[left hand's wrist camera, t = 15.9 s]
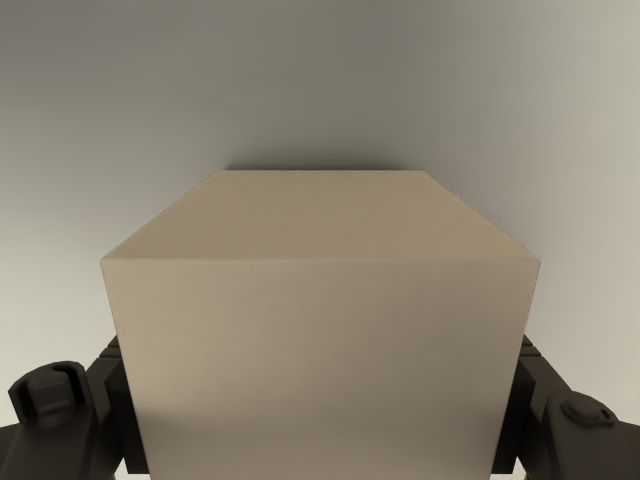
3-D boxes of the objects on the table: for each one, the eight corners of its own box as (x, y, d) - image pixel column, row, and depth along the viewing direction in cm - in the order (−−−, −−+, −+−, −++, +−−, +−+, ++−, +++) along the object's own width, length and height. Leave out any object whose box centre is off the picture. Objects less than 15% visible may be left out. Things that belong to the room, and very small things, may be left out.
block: (235, 363, 17) (171, 572, 9) (215, 169, 14) (96, 259, 6) (404, 363, 17) (469, 572, 9) (423, 169, 14) (543, 259, 6)
